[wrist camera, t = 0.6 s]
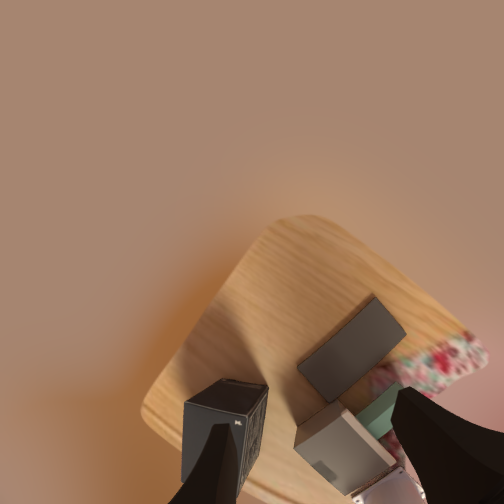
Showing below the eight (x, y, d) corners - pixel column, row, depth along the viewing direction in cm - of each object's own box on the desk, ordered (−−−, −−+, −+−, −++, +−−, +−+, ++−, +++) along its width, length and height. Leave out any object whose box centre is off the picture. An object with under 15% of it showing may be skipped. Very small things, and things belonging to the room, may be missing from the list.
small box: (217, 376, 32) (180, 398, 22) (270, 384, 31) (251, 414, 21) (211, 446, 30) (177, 483, 20) (259, 456, 29) (239, 500, 19)
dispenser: (385, 440, 26) (396, 462, 20) (341, 471, 26) (345, 496, 20) (342, 393, 29) (347, 410, 23) (297, 427, 29) (293, 448, 23)
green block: (405, 393, 27) (418, 404, 22) (342, 444, 27) (345, 462, 22) (395, 381, 28) (407, 391, 23) (331, 433, 28) (333, 450, 23)
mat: (405, 333, 28) (406, 334, 28) (328, 401, 29) (329, 403, 28) (374, 297, 30) (375, 297, 30) (297, 366, 30) (296, 367, 30)
